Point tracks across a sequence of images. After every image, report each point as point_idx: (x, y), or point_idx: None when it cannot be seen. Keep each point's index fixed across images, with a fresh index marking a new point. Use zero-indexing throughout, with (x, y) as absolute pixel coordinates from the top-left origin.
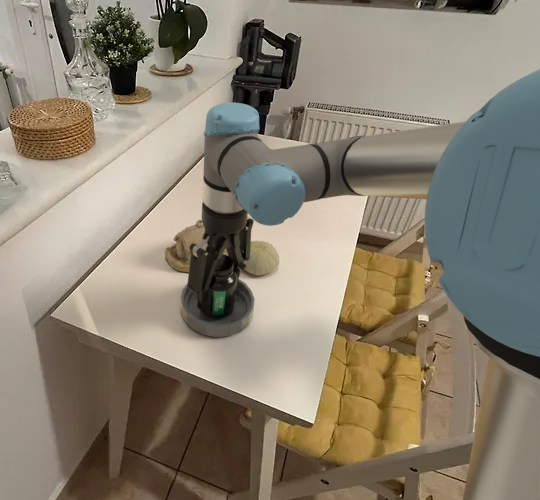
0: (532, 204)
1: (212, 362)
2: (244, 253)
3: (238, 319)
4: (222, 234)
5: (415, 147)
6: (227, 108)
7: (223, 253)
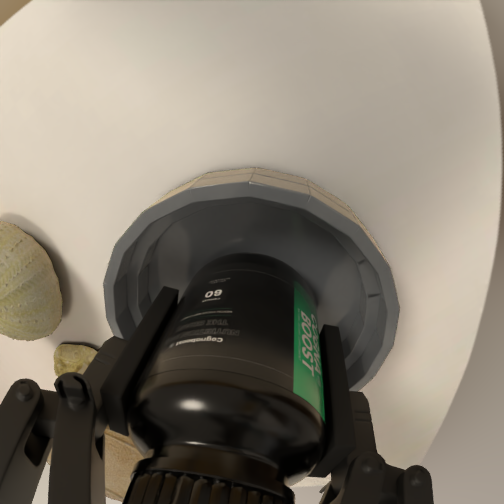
0: None
1: (459, 206)
2: (25, 441)
3: (251, 213)
4: None
5: None
6: None
7: (70, 364)
